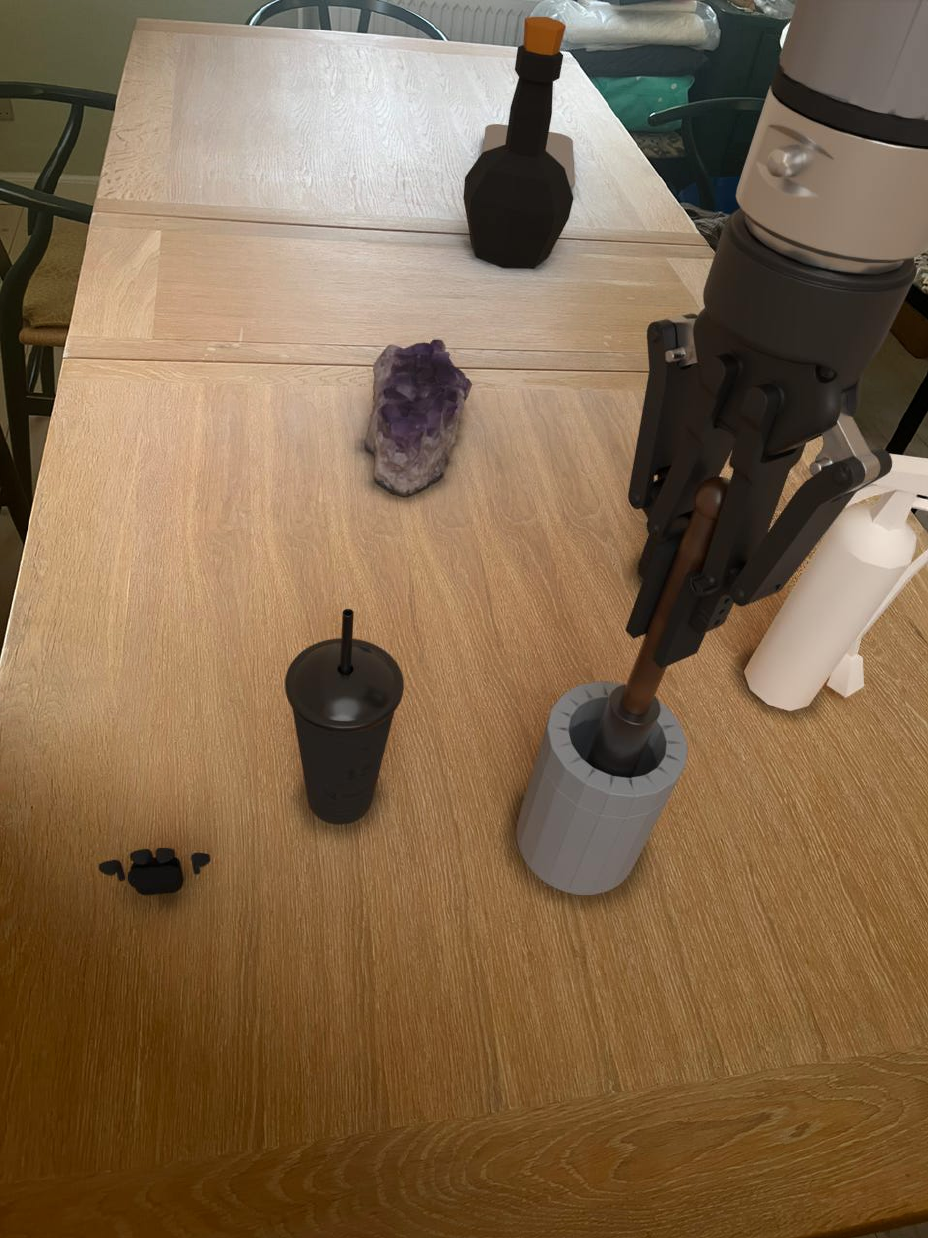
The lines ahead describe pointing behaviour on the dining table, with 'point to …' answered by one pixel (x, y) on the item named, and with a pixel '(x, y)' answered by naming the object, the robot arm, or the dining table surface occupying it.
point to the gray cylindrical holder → (593, 797)
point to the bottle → (522, 165)
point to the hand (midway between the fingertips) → (661, 641)
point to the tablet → (556, 147)
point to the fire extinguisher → (842, 593)
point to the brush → (654, 648)
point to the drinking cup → (343, 720)
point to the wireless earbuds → (154, 870)
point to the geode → (414, 415)
